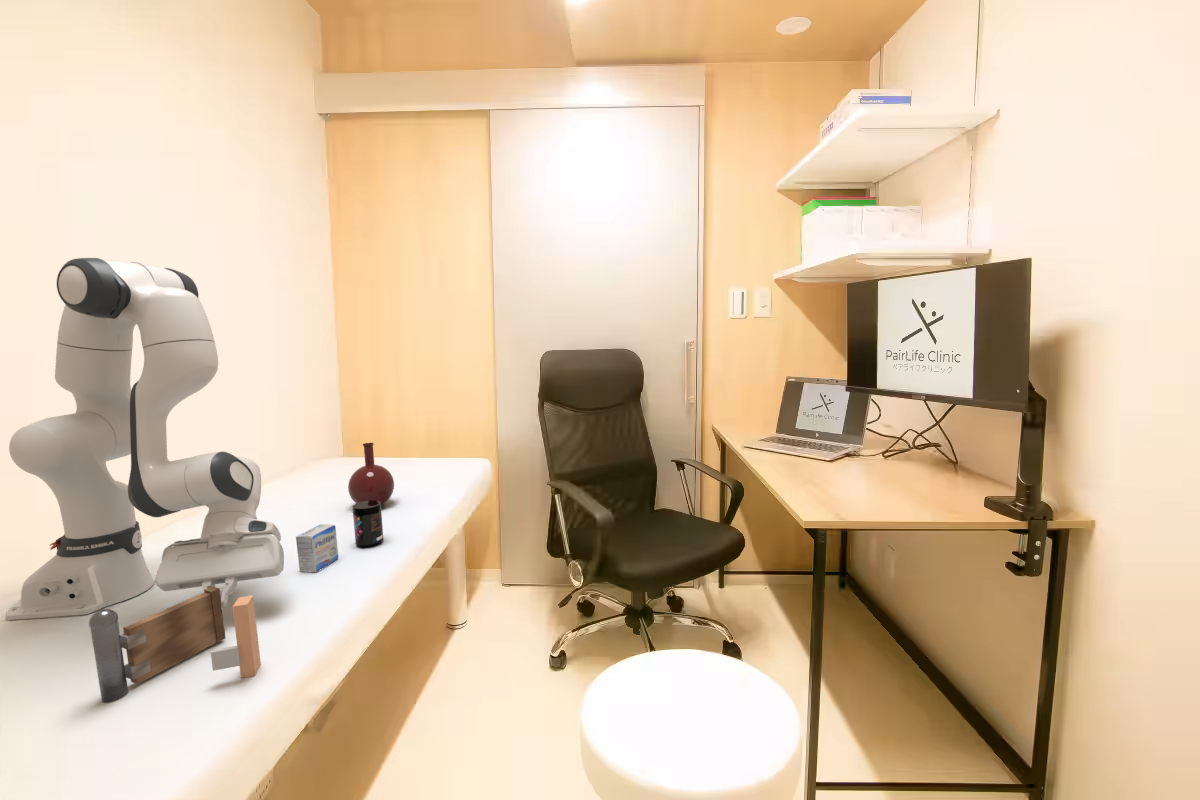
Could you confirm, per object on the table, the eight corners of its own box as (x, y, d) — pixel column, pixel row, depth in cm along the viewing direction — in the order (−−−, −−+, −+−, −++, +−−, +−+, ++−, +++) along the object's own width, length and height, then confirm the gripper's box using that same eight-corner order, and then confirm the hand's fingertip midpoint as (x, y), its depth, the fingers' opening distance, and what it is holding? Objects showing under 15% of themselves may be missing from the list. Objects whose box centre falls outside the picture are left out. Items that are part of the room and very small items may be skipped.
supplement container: (364, 538, 143) (361, 500, 142) (388, 538, 143) (385, 500, 141) (350, 548, 137) (346, 508, 135) (375, 549, 136) (372, 509, 135)
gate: (134, 686, 84) (125, 629, 82) (126, 683, 84) (118, 626, 83) (225, 638, 96) (219, 588, 95) (218, 636, 97) (212, 586, 96)
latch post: (214, 685, 84) (205, 612, 82) (223, 671, 88) (214, 601, 86) (253, 678, 86) (245, 606, 84) (260, 664, 89) (253, 595, 88)
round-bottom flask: (359, 501, 175) (354, 440, 173) (400, 499, 176) (396, 438, 174) (343, 514, 162) (337, 449, 160) (388, 512, 163) (383, 447, 161)
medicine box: (315, 573, 123) (312, 536, 122) (298, 572, 124) (295, 535, 123) (339, 558, 131) (336, 524, 129) (322, 557, 131) (319, 523, 130)
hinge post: (96, 705, 80) (82, 617, 78) (108, 691, 83) (95, 606, 81) (122, 700, 81) (109, 613, 79) (133, 686, 84) (121, 603, 82)
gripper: (158, 535, 102) (139, 610, 94) (281, 521, 108) (273, 590, 100) (172, 549, 106) (155, 621, 98) (289, 535, 112) (282, 601, 104)
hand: (216, 605), depth 99 cm, fingers closed
